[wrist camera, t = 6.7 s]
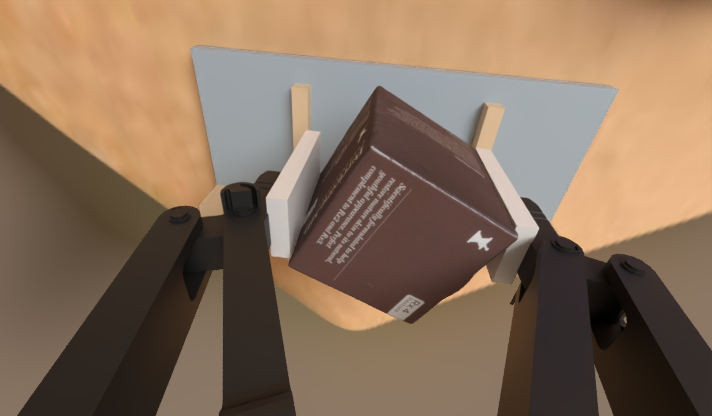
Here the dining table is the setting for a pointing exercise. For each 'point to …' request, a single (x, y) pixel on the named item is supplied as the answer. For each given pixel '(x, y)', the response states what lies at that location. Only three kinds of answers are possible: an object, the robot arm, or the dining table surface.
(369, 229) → the box
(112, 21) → the dining table surface
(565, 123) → the board
